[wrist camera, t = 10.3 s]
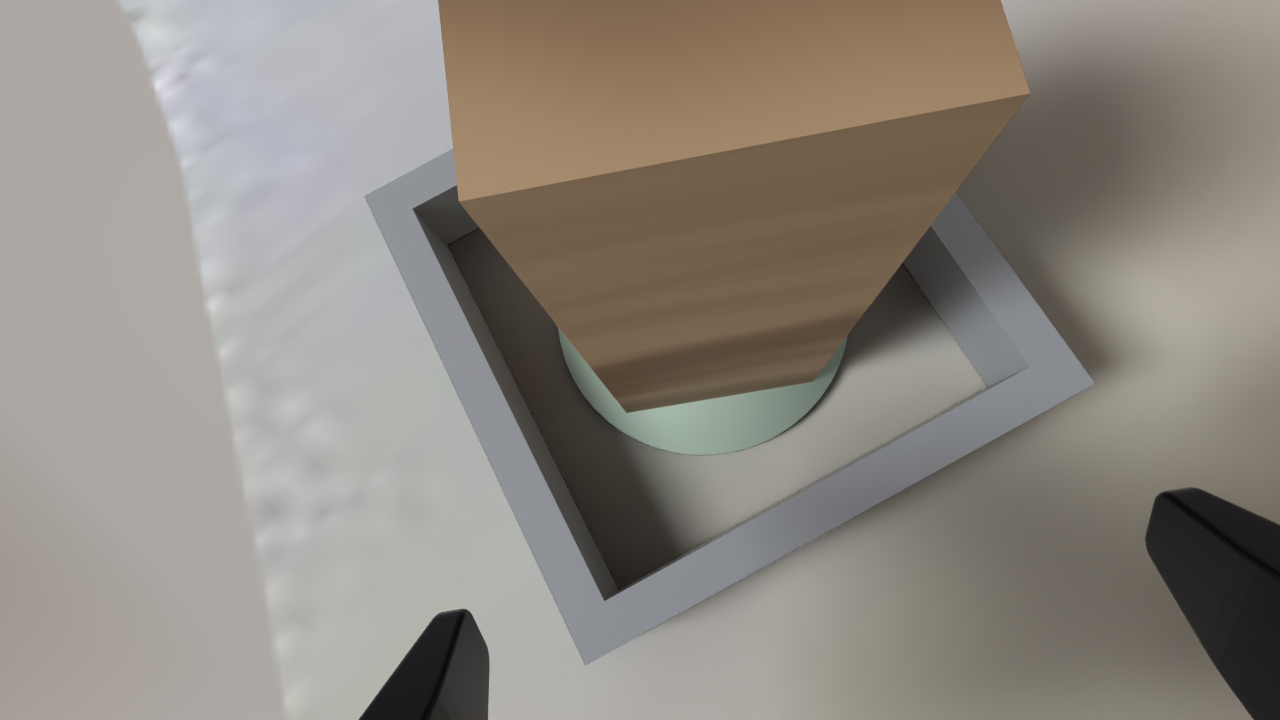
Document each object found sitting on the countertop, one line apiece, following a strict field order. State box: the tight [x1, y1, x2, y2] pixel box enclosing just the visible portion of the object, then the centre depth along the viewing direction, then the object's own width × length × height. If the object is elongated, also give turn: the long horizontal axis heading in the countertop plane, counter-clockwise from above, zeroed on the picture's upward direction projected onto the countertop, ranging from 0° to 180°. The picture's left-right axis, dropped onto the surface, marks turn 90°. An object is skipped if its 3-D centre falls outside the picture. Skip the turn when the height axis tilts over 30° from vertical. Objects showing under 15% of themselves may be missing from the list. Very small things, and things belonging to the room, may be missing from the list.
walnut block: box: [438, 0, 1030, 413], centre depth 13 cm, size 5×5×13 cm
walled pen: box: [364, 149, 1095, 665], centre depth 18 cm, size 13×13×2 cm
